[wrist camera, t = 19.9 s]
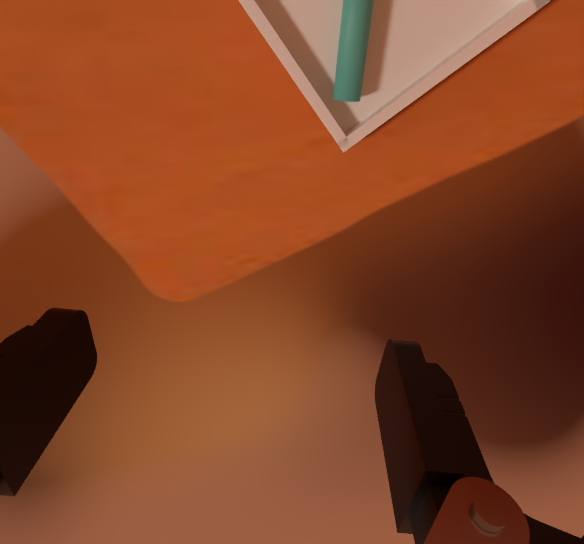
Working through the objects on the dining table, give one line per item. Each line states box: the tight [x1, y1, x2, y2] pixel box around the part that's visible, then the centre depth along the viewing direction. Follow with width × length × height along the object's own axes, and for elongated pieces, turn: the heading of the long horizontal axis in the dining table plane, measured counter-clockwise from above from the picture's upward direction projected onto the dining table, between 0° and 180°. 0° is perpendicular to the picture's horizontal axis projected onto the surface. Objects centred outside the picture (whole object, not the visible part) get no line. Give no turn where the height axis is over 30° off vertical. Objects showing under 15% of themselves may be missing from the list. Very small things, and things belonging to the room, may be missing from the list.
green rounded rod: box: [333, 0, 374, 102], centre depth 31 cm, size 2×2×14 cm
